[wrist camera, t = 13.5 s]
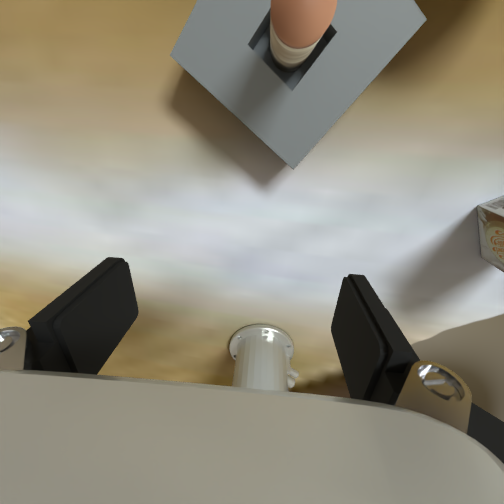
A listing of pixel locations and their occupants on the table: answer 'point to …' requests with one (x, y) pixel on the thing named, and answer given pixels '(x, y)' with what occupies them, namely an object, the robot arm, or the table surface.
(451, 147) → the table surface
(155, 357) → the table surface
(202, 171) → the table surface
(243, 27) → the socket block
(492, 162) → the table surface
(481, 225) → the coffee box
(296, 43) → the birch peg
